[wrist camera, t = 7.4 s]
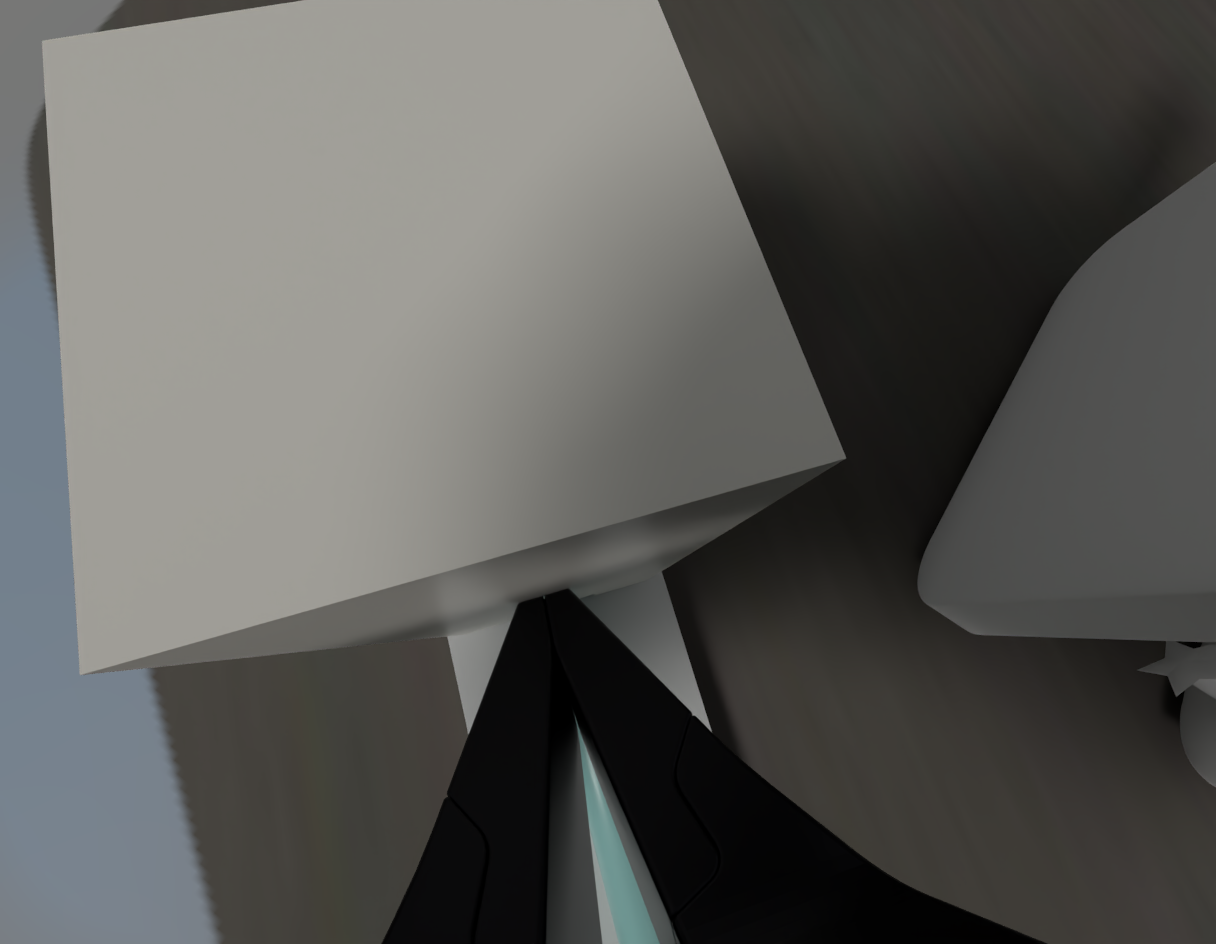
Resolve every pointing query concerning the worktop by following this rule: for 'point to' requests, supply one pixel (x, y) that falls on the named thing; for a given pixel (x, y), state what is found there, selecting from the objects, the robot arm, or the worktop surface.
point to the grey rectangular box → (400, 323)
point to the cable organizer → (1106, 467)
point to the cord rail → (658, 643)
